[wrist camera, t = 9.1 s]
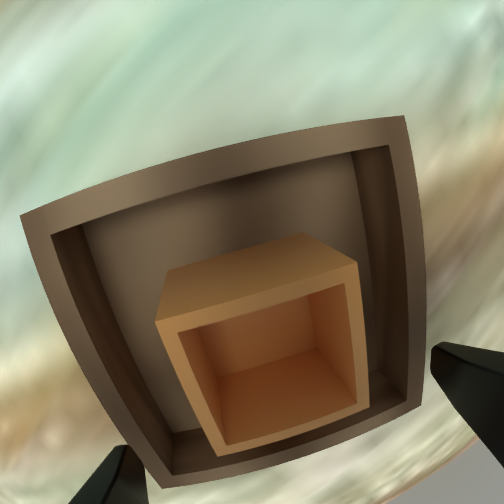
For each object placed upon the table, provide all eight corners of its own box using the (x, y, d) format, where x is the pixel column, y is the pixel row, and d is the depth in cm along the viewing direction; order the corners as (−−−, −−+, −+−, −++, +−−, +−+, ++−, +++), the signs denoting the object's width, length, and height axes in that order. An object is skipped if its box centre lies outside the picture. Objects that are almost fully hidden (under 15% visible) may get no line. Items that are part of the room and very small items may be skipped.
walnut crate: (355, 126, 14) (403, 115, 10) (386, 368, 18) (421, 405, 14) (61, 203, 13) (19, 215, 9) (163, 437, 16) (162, 488, 13)
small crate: (303, 232, 14) (357, 262, 9) (324, 346, 16) (369, 406, 11) (167, 270, 13) (154, 321, 9) (208, 382, 15) (217, 456, 10)
